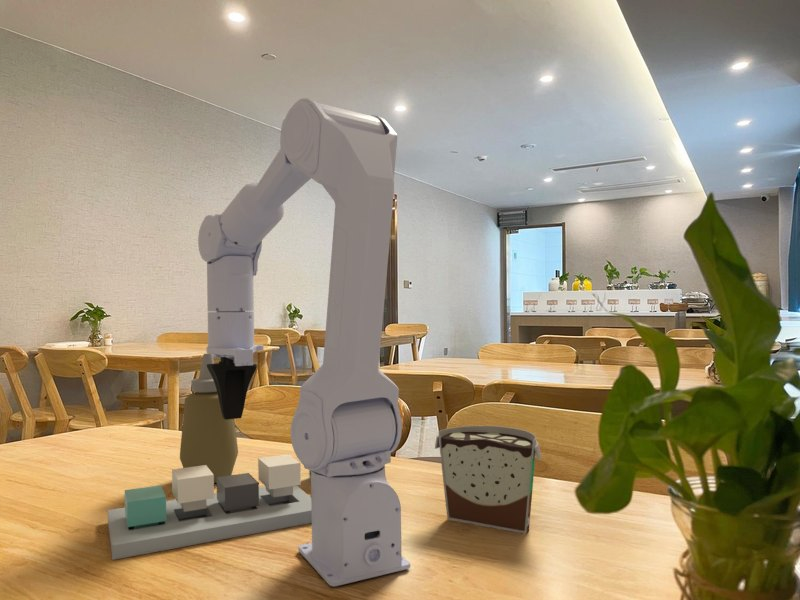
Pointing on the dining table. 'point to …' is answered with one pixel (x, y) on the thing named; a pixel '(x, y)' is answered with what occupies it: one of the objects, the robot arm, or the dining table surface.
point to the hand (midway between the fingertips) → (232, 418)
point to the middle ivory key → (192, 487)
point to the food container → (488, 475)
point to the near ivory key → (279, 474)
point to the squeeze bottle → (207, 428)
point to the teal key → (145, 506)
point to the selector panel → (207, 523)
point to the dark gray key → (237, 492)
